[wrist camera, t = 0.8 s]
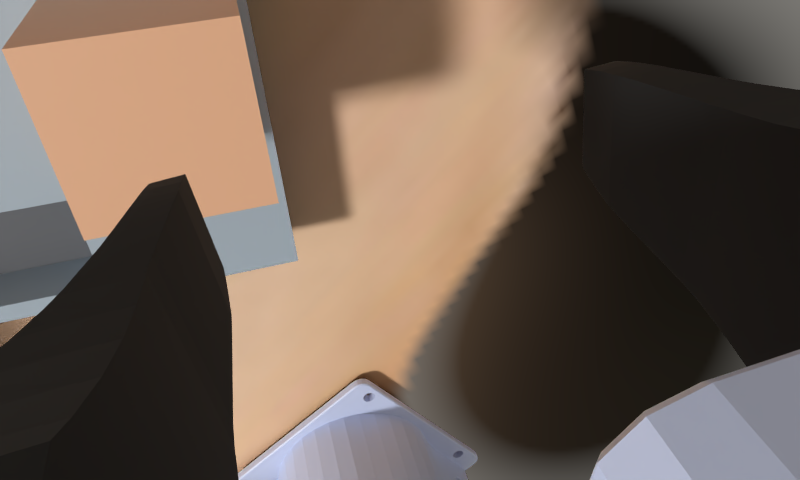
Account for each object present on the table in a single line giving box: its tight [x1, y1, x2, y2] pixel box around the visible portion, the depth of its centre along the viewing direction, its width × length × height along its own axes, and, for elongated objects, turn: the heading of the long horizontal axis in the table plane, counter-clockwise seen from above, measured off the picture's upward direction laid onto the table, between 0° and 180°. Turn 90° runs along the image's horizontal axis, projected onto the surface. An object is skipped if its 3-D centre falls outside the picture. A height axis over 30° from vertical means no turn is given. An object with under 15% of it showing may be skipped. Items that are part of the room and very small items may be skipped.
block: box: [2, 0, 279, 241], centre depth 16 cm, size 4×4×4 cm
